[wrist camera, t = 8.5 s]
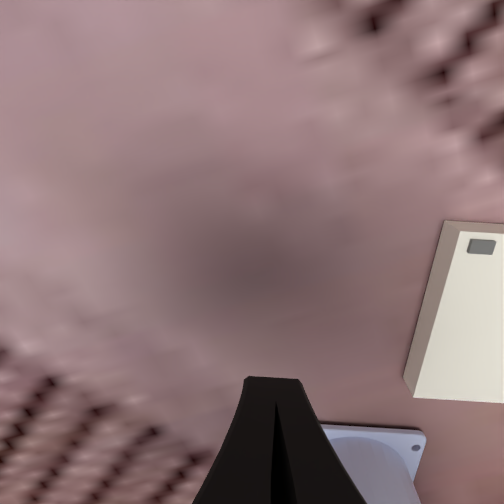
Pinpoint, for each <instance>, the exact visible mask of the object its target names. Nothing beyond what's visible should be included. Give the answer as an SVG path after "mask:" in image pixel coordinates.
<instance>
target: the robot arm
mask: <svg viewBox="0 0 504 504" xmlns="http://www.w3.org/2000/svg"><path fill="white" fill-rule="evenodd" d="M425 444H426V437H425V435H424V433H423V432H422V431H419V430H406V429H390V428H373V427H357V426H341V425H325V424H320V423H319V421H318V419H317V417H316V415H315V413H314V411H313V408H312V406H311V404H310V402H309V400H308V397H307V395H306V393H305V390H304V388H303V385H302V383H301V382H300V381H299V380H298V379H287V378H271V377H255V376H248V377H247V378H246V379H244V384H243V390H242V394H241V398H240V401H239V404H238V407H237V410H236V413H235V415H234V418H233V421H232V423H231V426H230V428H229V430H228V433H227V435H226V437H225V440H224V442H223V444H222V447H221V449H220V451H219V453H218V455H217V457H216V459H215V461H214V463H213V465H212V467H211V469H210V471H209V473H208V475H207V477H206V479H205V481H204V483H203V485H202V486H201V488H200V490H199V492H198V494H197V495H196V497H195V499H194V501H193V503H192V504H421V502H420V499H419V497H418V494H417V492H416V489H415V487H414V484H413V481H414V478H415V475H416V472H417V469H418V466H419V463H420V459H421V456H422V453H423V450H424V447H425Z"/></svg>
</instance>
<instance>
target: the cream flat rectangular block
mask: <svg viewBox="0 0 504 504" xmlns="http://www.w3.org/2000/svg"><path fill="white" fill-rule="evenodd" d="M403 379H404V381H405V383H406V385H407V387H408V389H409V391H410V392H411V394H412V396H413V398H429V399H445V400H461V401H477V402H493V403H504V224H494V223H478V222H462V221H446V220H444V224H443V227H442V231H441V235H440V239H439V243H438V246H437V250H436V254H435V258H434V261H433V265H432V269H431V273H430V277H429V280H428V284H427V288H426V292H425V295H424V299H423V303H422V307H421V311H420V314H419V318H418V322H417V326H416V330H415V333H414V337H413V341H412V345H411V348H410V352H409V356H408V360H407V364H406V367H405V371H404V375H403Z"/></svg>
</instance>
